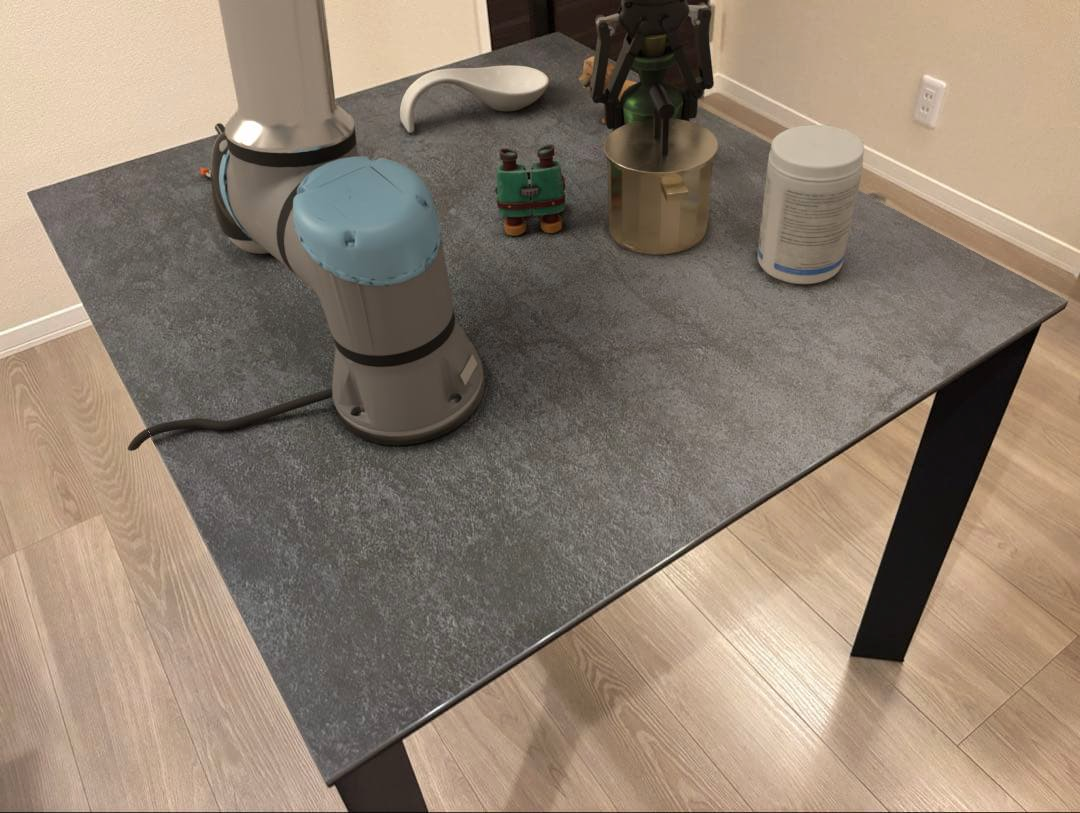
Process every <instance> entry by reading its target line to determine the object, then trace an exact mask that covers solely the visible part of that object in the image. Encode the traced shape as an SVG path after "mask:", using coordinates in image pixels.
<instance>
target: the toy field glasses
mask: <svg viewBox="0 0 1080 813" xmlns="http://www.w3.org/2000/svg"><path fill="white" fill-rule="evenodd" d="M518 156H519V155H518V152H517V151H515V150H513V149H510V148H500V149H499V159H500V161H502V164H500V165H498V166H497V168H496V187H495V189H494V192H495V194H496V196H497V197H496V201H495V202H496V207H497V208H498V214H499V215H500V216H501V217H503V218H504V217H505V218H506V219H505V220H504V222H503V227H504V232H505V234H507V235H508V236H512V237H513V236H515V237H516V236H520V235H523V233H524V232H526V230H527V224H526V219H525V218H524V217H531V216H534V217H536V216H541V217H540V220H539V221H540V223H539V224H540V229H541V230H542V231H543V232H545V233H549V234H550V233H551V234H554V233H557V232H559V231H560V230H561V229H562V227H563V220H562V216H560V214H559V213H561V212H563V211H565V209H566V193H565V190H566V177H565V175H563V174H562V167H561V164H560V162H559V161H558V160H554V156H555V146H554V144H547V145H544V146H542V147H540V148H538V149H537V151H536V156H537V158H539V162H536V163H533V164H531V168H530V171H527V169H526V165H524V164H520V163H517V160H518ZM529 181H530V183H529Z"/></svg>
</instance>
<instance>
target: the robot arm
mask: <svg viewBox="0 0 1080 813" xmlns="http://www.w3.org/2000/svg"><path fill="white" fill-rule="evenodd" d="M217 1H218V7H219V13H220V18H221V23H222V27H223V33H224V38H225V43H226V44H225V45H226V48H227V55H228V60H229V66H230V70H231V76H232V81H233V86H234V92H235V97H236V103H237V109H236V111H235V112H234V113H233V115H232V116H231V117H230V118H229V119H228V120H227V122H226V123H225V125H224V127H225V134H226V139H227V144H228V151H227V153H226V155H223V157H222V161H221V165H220V171H219V184H220V191H221V195H222V198H223V201H224V204H225V206H226V208H227V210H228V211H229V213H230V214H231V216H232V217H233V219H234V220H235V222H236V223H237V225H238V226H239V227H240V228H241V229H242V231H243V232H244V233H245V234H246V235H247V236H248V237H249V238H251V239H252V240H253V241H254V242H255V243H257V244H259V245H261V246H262V247H263V248H264V249H266V250H267V251H268V252H269V253H268V254H271V256H273V257H274V258H275V259H276V260H277V261H279V263H281V264H282V265H283V266H284V267H286V268H287V269H288V270H289V271H291V272H292V273H293V274H294V275H295V276H296V277H298V278H299V279H300V280H301V281H302V282H304V283H305V284H306V285H307V286H308V287H309V288H310V289H311V290H312V291H314V292H315V294H316V295H317V297H318V300H319V301H320V303H321V306H322V309H323V312H324V315H325V318H326V321H327V325H328V328H329V331H330V334H331V336H332V340H333V343H334V346H335V348H334V349H335V350H334V359H333V360H334V361H333V373H332V384H331V388H327V389H323V390H321V391H317V392H314V393H311V394H308V395H305V396H302V397H299V398H295V399H293V400H292V399H291V400H289V401H287V402H283V403H281V404H277V405H275V406H272V407H269V408H266V409H263V410H259V411H256V412H253V413H250V414H247V415H244V416H241V417H237V418H233V419H227V420H214V419H209V418H202V417H200V418H199V417H197V418H186V419H178V420H172V421H167V422H166V421H165V422H162V423H158V424H154V425H151V426H149V427H147V428H145V429H143V430H141V431H140V432H139V433H138V434H136V436H134V437H133V439H131V441H130V443H129V444H128V447H127V450H128V452H129V451H130V452H132V451H136V450H138V449H139V448H140V447H141V446H142V444H144V443H145V442H146V441H147V440H149V439H150V438H152V437H154V436H157V435H160V434H163V433H167V432H173V431H179V430H188V429H196V428H200V429H201V428H202V429H207V430H213V431H228V430H234V429H238V428H241V427H246V426H248V425H251V424H255V423H258V422H261V421H265V420H268V419H270V418H273V417H276V416H279V415H282V414H285V413H288V412H291V411H294V410H297V409H299V408H304V407H307V406H310V405H314V404H315V403H319V402H322V401H325V400H329V399H331V398H332V401H333V404H334V408H335V411H336V413H337V415H338V417H339V419H340V422H341V423H342V424H343V426H344V427H345V428H346V429H347V430H348V431H350V432H351V433H352V434H353V435H355V436H357V437H359V438H360V439H362V440H365V441H368V442H371V443H374V444H379V445H386V446H408V445H415V444H421V443H424V442H428V441H431V440H434V439H437V438H440V437H442V436H444V435H446V434H448V433H450V432H452V431H454V430H455V429H456V428H458V427H459V426H461V425H462V424H463V423H464V422H466V421H467V420H468V419H469V418H470V417H471V416H472V415H473V414H474V412H475V411H476V409H477V408H478V407H479V405H480V404H481V401H482V399H483V397H484V394H485V387H486V379H485V373H484V367H483V361H482V359H481V357H480V355H479V353H478V351H477V350H476V349H475V347H474V346H473V344H472V343H471V341H470V339H469V337H468V336H467V334H466V333H465V331H464V330H463V328H462V327H461V325H460V323H459V322H458V320H457V318H456V315H455V310H454V303H453V298H452V292H451V285H450V280H449V274H448V270H447V263H446V259H445V258H446V257H445V253H444V252H445V251H444V247H443V241H442V226H441V220H440V217H439V215H438V210H437V208H436V207H435V204H434V200H433V197H432V193H431V191H430V190H429V187H428V185H427V184H426V182H425V181H424V179H423V178H422V177H420V176H419V174H418V173H416V171H414V170H413V169H412V168H410V167H408V166H407V165H404V164H403V163H401V162H398V161H396V160H392V159H389V158H386V157H379V158H377V159H376V160H372V159H371V157H370V156H368V155H366V156H364V155H363V156H362V155H361V156H359V152H358V143H357V133H356V125H355V119H354V118H353V116H352V115H350V114H349V112H347V111H346V110H345V109H344V108H342V107H341V106H340V105H339V104H338V103H337V102H336V96H335V95H336V94H335V84H334V76H333V69H332V67H333V66H332V58H331V51H330V50H331V49H330V40H329V32H328V21H327V14H326V5H325V0H217ZM688 17H689V21H690V23H691V25H692V26H693V35H694V44H695V51H696V61H697V67H698V69H697V70H698V76H697V77H696V78H695V75H694V72H693V70H692V68H691V66H690V63H689V60H688V58H687V55H686V53H685V51H684V49H683V45H682V42H681V40H680V38H679V35H678V31H679V30H680V28H681V27H682V25H683V24H684V22H685V21H686V20H687V18H688ZM711 19H712V11H711V9H710V8H709V6H708V5H707V4H706V3H705V2H699V3H698V4H688V2H687V0H621V1H620V5H619V7H618V10H617V12H616V13H614V14H611V15H607V16H604V15H603V14H598V15H596V17H595V20H594V22H595V27H596V33H597V37H596V45H595V51H594V56H595V57H594V64H593V71H592V77H591V84H590V90H589V95H590V98H591V100H592V102H593V103H594V104H604V105H603V109H604V111H603V113H604V118H605V123H606V124H605V126H606V128H607V129H608V130H612V132H613V131H614V130H616V129H617V128H619V127H621V126H622V105H621V103H620V101H619V99H618V97H619V95H620V92H621V90H622V87H623V85H624V83H625V80H626V79H627V78H628V75H629V73H630V71H631V69H632V64H633V62H634V59H635V57H636V56H637V55H638V53H639V51H640V49H641V47H643V46H642V44H643V42H644V39H645V37H646V36H650V35H659V34H666V36H667V42H666V45H668V46H670V48H671V50H672V51H673V52H674V55H675V58H676V62H675V63H676V66H677V68H678V70H679V71H678V72H679V73H680V75H681V78H682V80H683V83H684V85H685V87H686V88H680V89H679V90H680V92H681V94H682V96H683V106H682V114H681V120H686V121H690V119H691V120H692V119H696V117H697V115H698V105H699V104H698V103H699V98H700V97H701V95H702V92H703V91H704V90H711V89H712V88H713V87H714V86H715V82H714V72H713V63H712V54H711V43H710V35H709V28H710V27H709V26H710V22H711ZM618 26H621V28H622V29H623V30H624V31H625V33H626V34H625V36H624V39H623V43H622V47H621V50H620V52H619V55H618V57H617V60H616V62H615V64H614V66H615V67H614V69H613V71H612V74H611V76H610V79H609V81H608V84H607V86H606V88H605V90H604V84H605V77H606V71H607V65H608V62H609V58H610V52H611V51H610V50H611V44H612V38H611V37H613V36H614V35H615V34H616V29H617V27H618ZM148 431H149V432H150V433H149V432H148ZM150 435H151V436H150Z"/></svg>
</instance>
